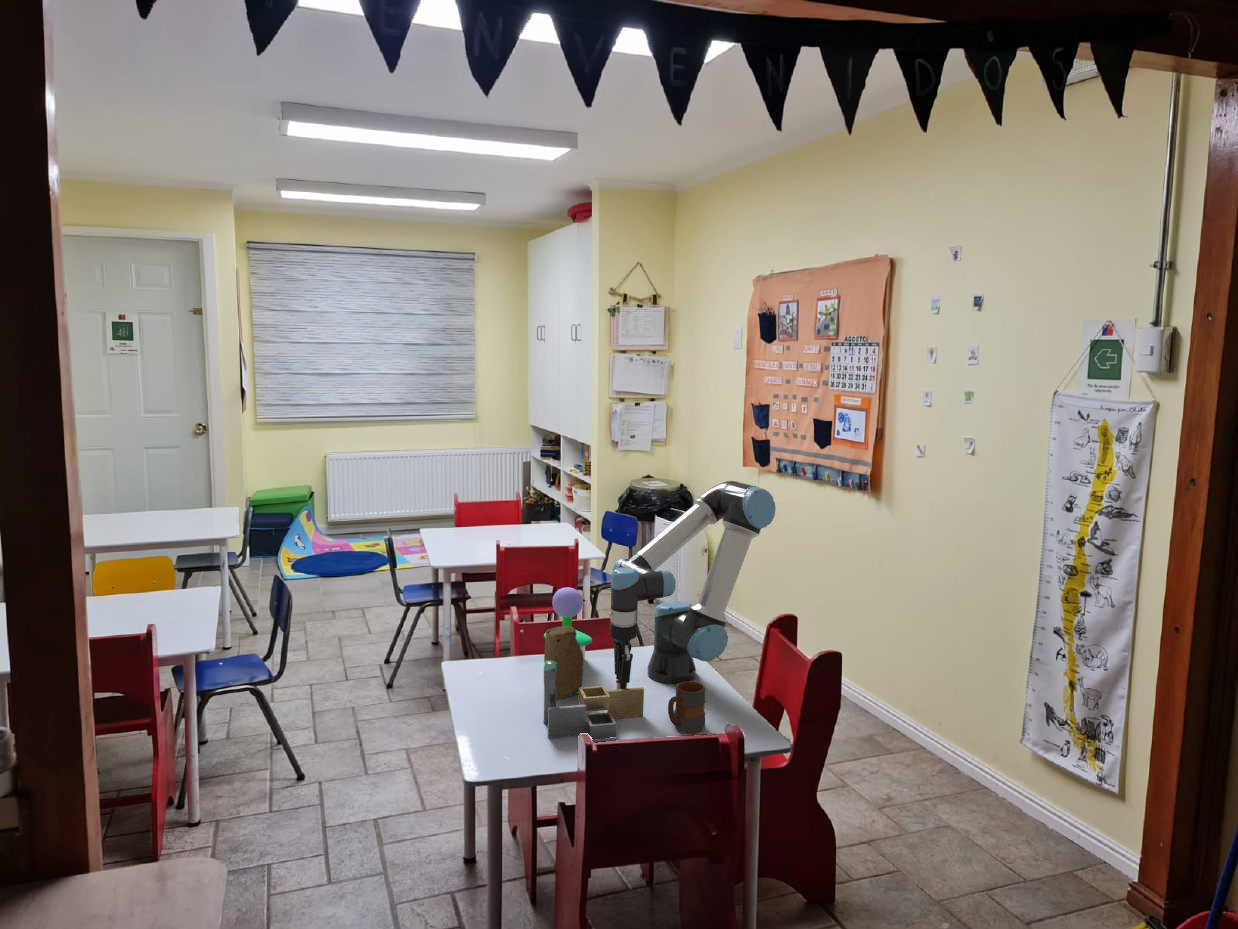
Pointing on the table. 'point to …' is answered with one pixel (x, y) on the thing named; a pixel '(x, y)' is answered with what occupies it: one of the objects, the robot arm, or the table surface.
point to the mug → (688, 707)
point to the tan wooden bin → (613, 700)
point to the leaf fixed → (579, 723)
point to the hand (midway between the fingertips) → (621, 702)
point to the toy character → (570, 612)
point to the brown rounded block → (565, 659)
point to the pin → (549, 687)
